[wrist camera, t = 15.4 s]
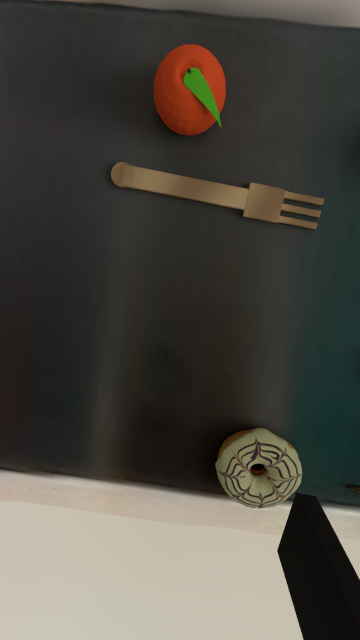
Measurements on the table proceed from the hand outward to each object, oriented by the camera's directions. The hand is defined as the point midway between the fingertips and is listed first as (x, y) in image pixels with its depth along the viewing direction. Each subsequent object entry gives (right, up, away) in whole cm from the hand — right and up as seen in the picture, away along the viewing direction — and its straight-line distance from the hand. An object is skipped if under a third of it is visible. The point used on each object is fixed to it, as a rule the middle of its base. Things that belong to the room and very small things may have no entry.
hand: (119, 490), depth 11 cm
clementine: (+4, +29, +21) cm, 36 cm away
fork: (+7, +20, +23) cm, 31 cm away
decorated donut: (+13, -12, +30) cm, 35 cm away
